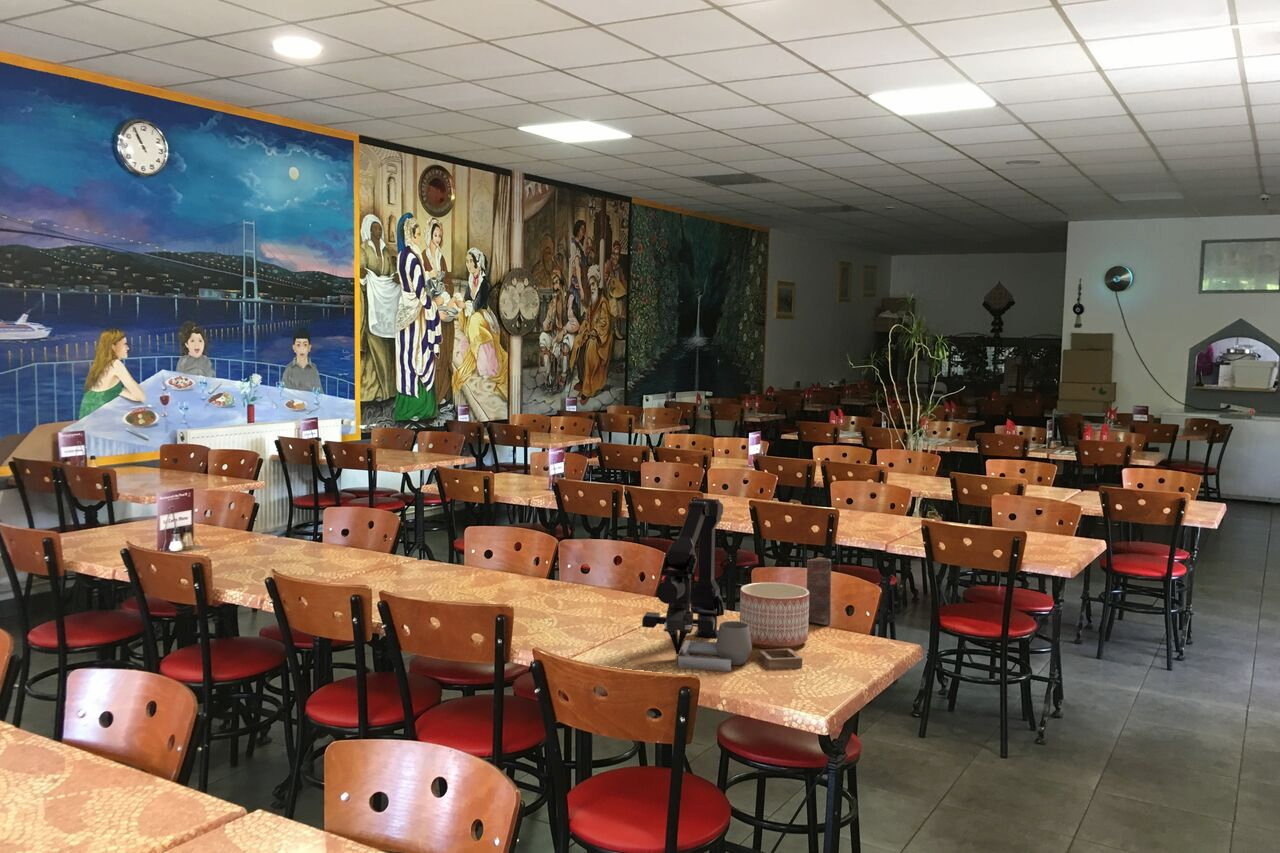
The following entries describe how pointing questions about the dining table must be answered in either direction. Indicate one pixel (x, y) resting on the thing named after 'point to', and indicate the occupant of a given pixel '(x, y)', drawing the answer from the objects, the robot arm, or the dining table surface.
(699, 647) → the grey square frame
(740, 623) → the cup
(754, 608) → the planter
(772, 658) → the square wooden tray
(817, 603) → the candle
